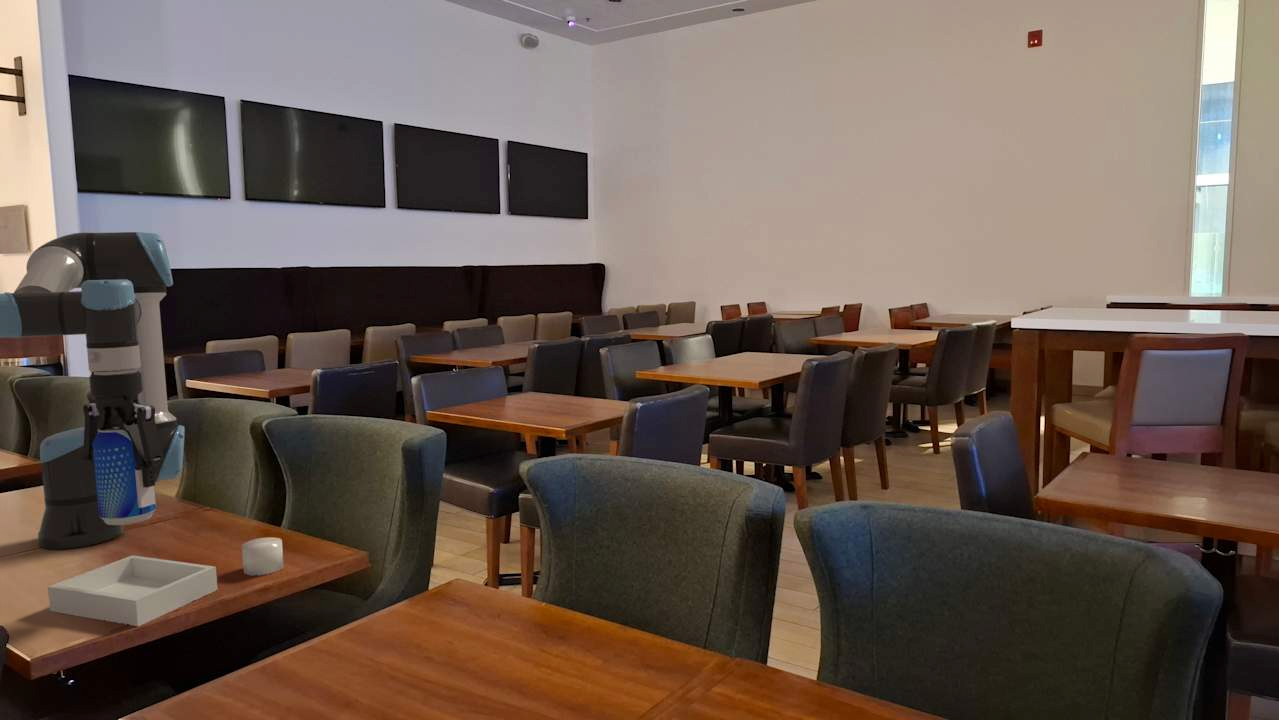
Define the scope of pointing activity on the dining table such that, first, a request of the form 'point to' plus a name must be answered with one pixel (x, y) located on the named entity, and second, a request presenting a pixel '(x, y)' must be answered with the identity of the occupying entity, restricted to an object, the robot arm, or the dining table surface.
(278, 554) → the white pillar candle
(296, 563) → the dining table surface
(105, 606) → the tray
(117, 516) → the beer can
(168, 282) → the robot arm
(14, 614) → the dining table surface
